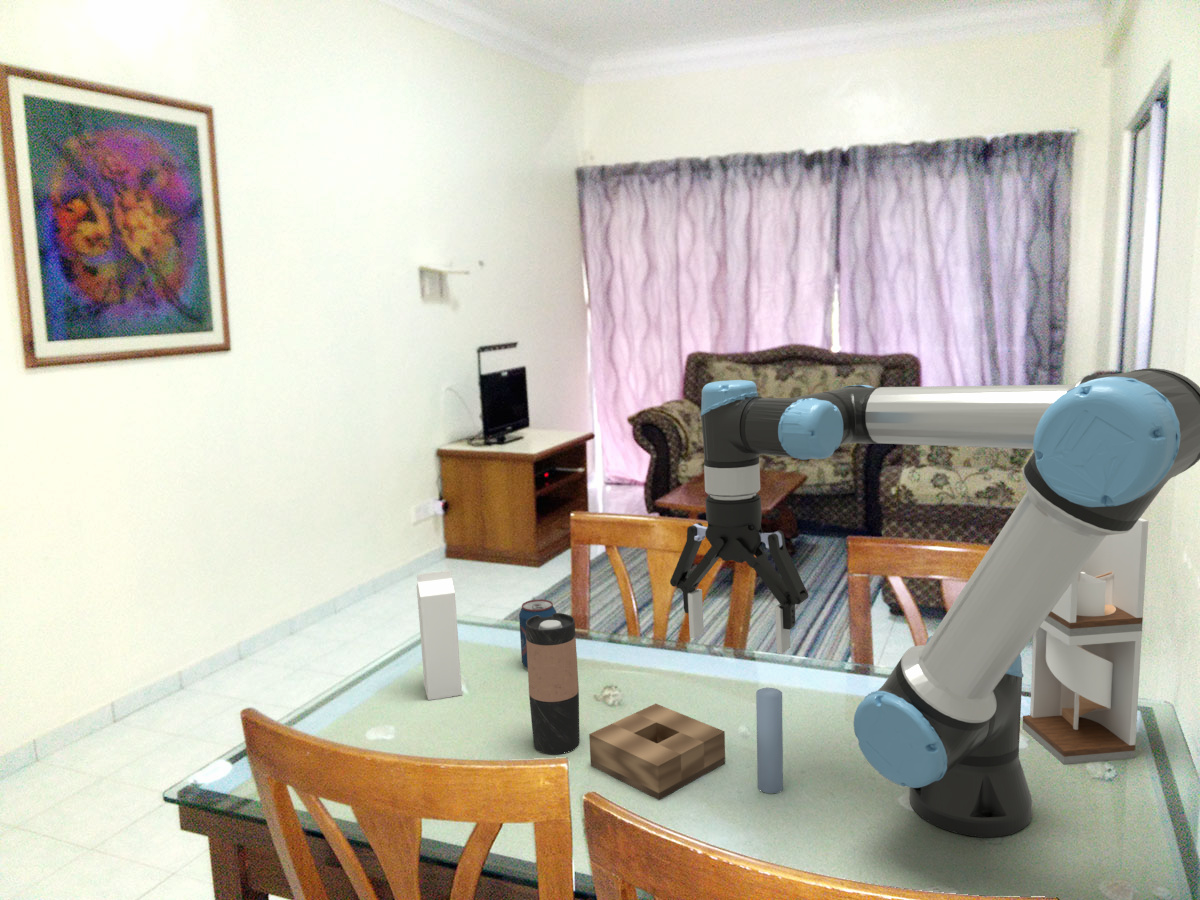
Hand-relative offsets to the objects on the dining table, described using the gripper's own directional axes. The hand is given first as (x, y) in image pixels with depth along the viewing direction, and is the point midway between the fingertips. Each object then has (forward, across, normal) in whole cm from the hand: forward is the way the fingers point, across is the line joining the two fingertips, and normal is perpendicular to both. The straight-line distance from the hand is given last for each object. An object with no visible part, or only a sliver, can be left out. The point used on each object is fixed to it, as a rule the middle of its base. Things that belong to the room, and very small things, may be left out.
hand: (739, 642), depth 137 cm
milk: (+18, +59, +2) cm, 62 cm away
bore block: (+20, +12, +4) cm, 23 cm away
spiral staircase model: (+21, -37, -34) cm, 55 cm away
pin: (+20, -5, +1) cm, 21 cm away
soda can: (+18, +51, -16) cm, 57 cm away
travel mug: (+19, +29, +6) cm, 36 cm away
